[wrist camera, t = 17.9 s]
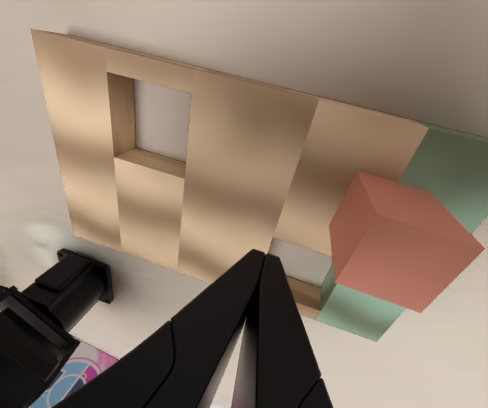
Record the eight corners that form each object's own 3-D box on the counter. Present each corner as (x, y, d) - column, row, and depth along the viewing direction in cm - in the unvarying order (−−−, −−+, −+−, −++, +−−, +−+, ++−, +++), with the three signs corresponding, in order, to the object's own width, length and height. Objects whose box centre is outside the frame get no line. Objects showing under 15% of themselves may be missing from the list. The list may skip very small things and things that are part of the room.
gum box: (167, 384, 39) (106, 516, 27) (157, 400, 43) (100, 521, 31) (35, 315, 39) (-82, 418, 27) (38, 338, 43) (-63, 436, 31)
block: (390, 245, 15) (420, 312, 11) (328, 225, 16) (334, 282, 11) (429, 191, 13) (484, 248, 9) (357, 170, 14) (377, 214, 9)
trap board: (370, 315, 22) (376, 341, 20) (94, 221, 25) (73, 235, 23) (504, 142, 13) (539, 155, 11) (66, 34, 17) (30, 28, 14)
